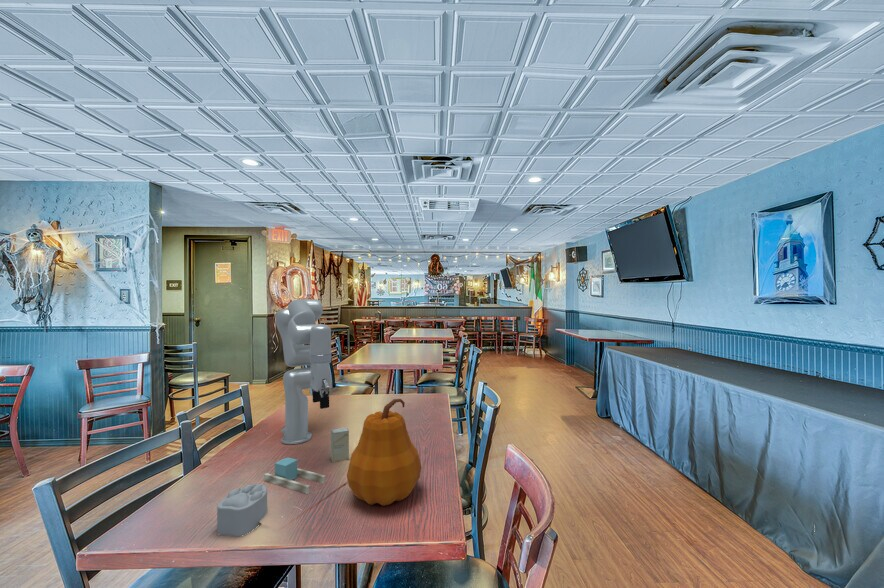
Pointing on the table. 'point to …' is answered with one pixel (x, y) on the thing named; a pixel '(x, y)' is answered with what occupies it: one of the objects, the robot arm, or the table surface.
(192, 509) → the table surface
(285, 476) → the block
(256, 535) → the table surface
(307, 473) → the twin rail frame
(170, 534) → the table surface
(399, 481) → the decorative pumpkin
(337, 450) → the skincare box
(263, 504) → the lumpy-topped squat cylinder
